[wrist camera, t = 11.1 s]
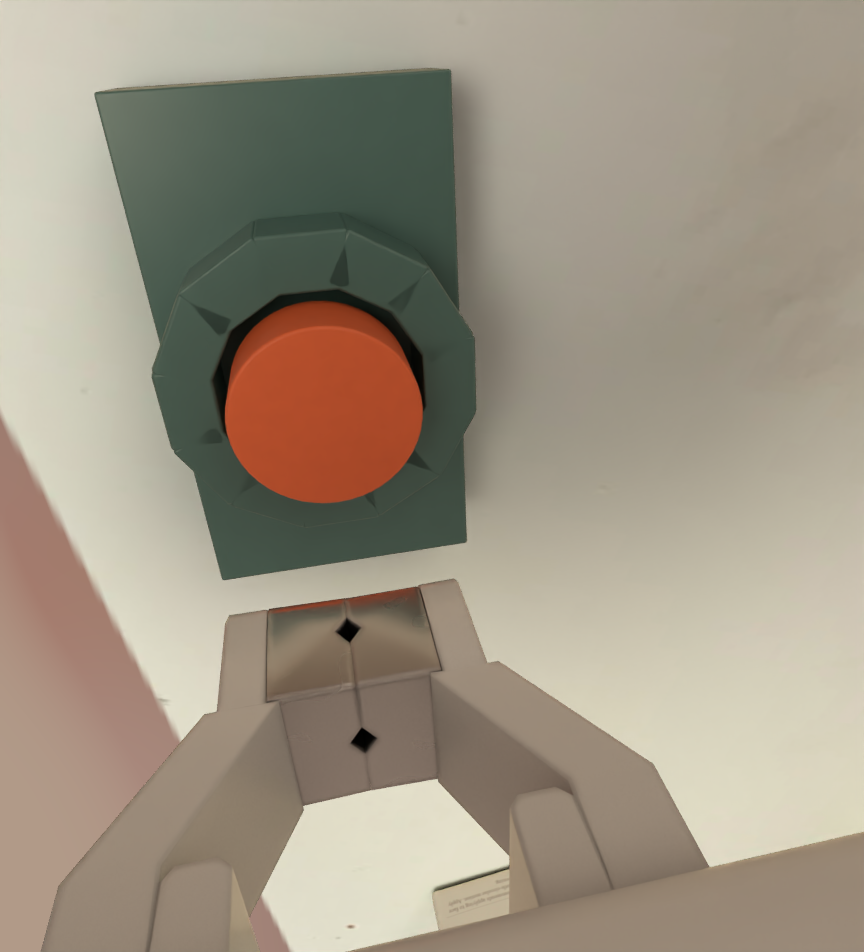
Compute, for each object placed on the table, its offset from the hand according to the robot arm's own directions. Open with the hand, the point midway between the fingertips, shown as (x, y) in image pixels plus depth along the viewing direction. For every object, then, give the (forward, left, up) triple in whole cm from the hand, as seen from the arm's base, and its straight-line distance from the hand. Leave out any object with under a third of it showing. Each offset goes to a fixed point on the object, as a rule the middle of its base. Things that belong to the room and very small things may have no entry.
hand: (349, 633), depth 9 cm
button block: (0, 0, -11) cm, 11 cm away
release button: (0, 0, -8) cm, 8 cm away
